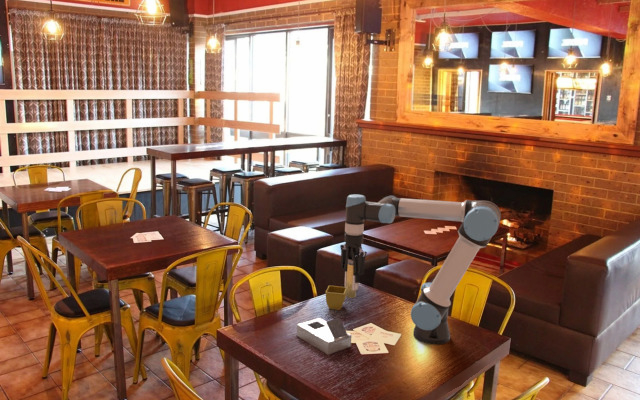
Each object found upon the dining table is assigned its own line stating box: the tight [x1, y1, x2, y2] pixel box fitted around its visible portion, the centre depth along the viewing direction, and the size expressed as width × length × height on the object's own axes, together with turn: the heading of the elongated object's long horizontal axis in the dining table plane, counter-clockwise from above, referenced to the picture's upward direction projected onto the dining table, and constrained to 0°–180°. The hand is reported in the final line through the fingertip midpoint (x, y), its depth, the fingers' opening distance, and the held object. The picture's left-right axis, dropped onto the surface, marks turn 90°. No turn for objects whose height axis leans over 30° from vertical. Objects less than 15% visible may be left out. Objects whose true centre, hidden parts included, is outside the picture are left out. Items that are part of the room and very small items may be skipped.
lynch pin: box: [345, 258, 357, 299], centre depth 233 cm, size 4×4×16 cm
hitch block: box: [296, 317, 353, 355], centre depth 230 cm, size 20×12×5 cm, turn 40°
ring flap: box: [326, 317, 349, 342], centre depth 222 cm, size 9×7×1 cm
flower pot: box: [325, 285, 347, 311], centre depth 264 cm, size 9×9×9 cm
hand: (351, 287), depth 233 cm, fingers closed on lynch pin, 4 cm apart
